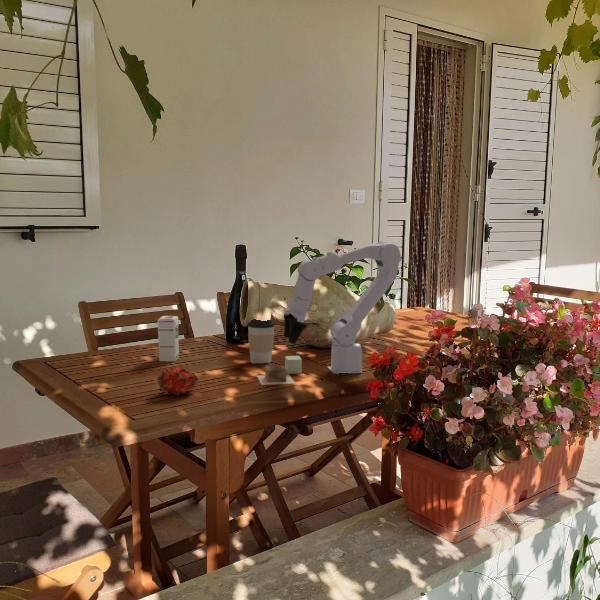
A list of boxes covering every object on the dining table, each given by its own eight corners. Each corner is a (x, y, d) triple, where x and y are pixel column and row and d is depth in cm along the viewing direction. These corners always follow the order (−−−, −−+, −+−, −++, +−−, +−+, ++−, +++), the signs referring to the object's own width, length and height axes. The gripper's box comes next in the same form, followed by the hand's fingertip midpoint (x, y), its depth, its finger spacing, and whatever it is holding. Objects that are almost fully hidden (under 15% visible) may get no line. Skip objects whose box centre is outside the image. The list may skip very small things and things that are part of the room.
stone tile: (288, 375, 202) (288, 374, 202) (295, 384, 192) (295, 383, 192) (256, 377, 200) (256, 375, 199) (261, 386, 190) (261, 384, 190)
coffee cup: (257, 357, 224) (257, 314, 221) (279, 361, 219) (280, 317, 217) (241, 362, 216) (242, 318, 214) (264, 366, 212) (264, 321, 209)
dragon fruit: (153, 401, 180) (194, 401, 185) (163, 390, 173) (205, 391, 179) (151, 372, 183) (191, 374, 189) (160, 360, 177) (202, 362, 183)
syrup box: (176, 361, 216) (175, 318, 214) (158, 361, 216) (157, 318, 214) (179, 357, 222) (179, 315, 220) (162, 357, 222) (161, 315, 220)
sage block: (298, 371, 208) (298, 355, 207) (301, 374, 203) (301, 359, 202) (284, 371, 207) (285, 356, 206) (287, 375, 202) (287, 359, 202)
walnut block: (283, 376, 199) (283, 365, 198) (286, 381, 194) (286, 370, 193) (265, 377, 198) (265, 366, 197) (268, 382, 192) (268, 370, 192)
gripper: (284, 291, 208) (273, 332, 209) (293, 298, 194) (281, 342, 195) (305, 297, 209) (294, 337, 211) (315, 304, 195) (303, 347, 197)
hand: (289, 340), depth 203 cm, fingers open, 7 cm apart
